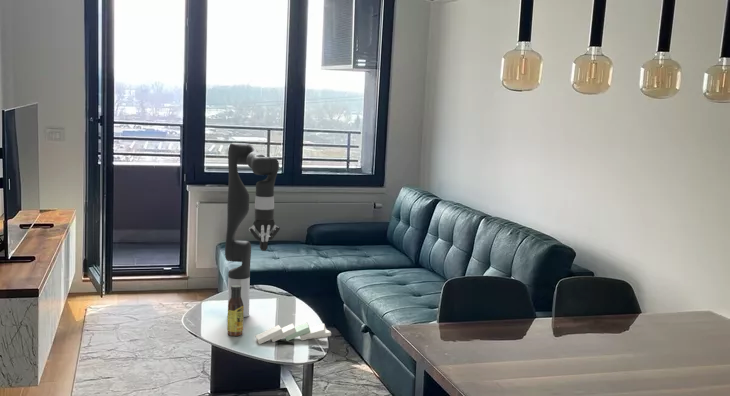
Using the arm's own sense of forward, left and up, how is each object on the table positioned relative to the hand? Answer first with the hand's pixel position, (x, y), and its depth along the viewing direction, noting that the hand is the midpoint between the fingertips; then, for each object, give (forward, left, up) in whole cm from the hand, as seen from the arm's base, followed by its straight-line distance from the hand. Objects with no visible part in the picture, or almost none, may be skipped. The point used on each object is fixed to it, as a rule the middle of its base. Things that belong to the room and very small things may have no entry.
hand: (263, 250), depth 275 cm
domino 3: (+8, +7, -34) cm, 35 cm away
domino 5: (+9, +16, -34) cm, 39 cm away
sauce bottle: (-4, -10, -35) cm, 37 cm away
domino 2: (+8, +1, -34) cm, 35 cm away
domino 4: (+10, +13, -33) cm, 37 cm away
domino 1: (+8, -4, -34) cm, 35 cm away
